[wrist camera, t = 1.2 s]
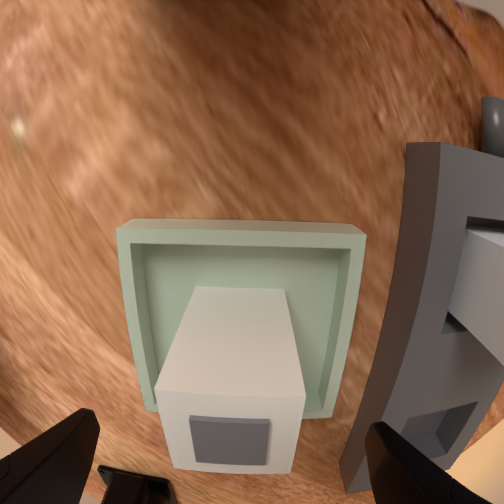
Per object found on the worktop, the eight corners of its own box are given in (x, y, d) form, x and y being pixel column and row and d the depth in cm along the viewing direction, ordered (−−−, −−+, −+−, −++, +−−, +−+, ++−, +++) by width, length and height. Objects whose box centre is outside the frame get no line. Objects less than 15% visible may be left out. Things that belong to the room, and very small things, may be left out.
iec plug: (278, 360, 15) (290, 477, 9) (199, 357, 15) (172, 472, 9) (284, 288, 14) (307, 400, 7) (195, 286, 14) (151, 393, 7)
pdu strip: (436, 444, 19) (450, 471, 16) (338, 463, 19) (346, 496, 16) (525, 122, 12) (563, 123, 9) (406, 82, 12) (443, 67, 9)
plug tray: (325, 393, 17) (331, 417, 15) (154, 388, 17) (146, 410, 15) (352, 223, 14) (366, 234, 12) (132, 218, 14) (115, 228, 12)
